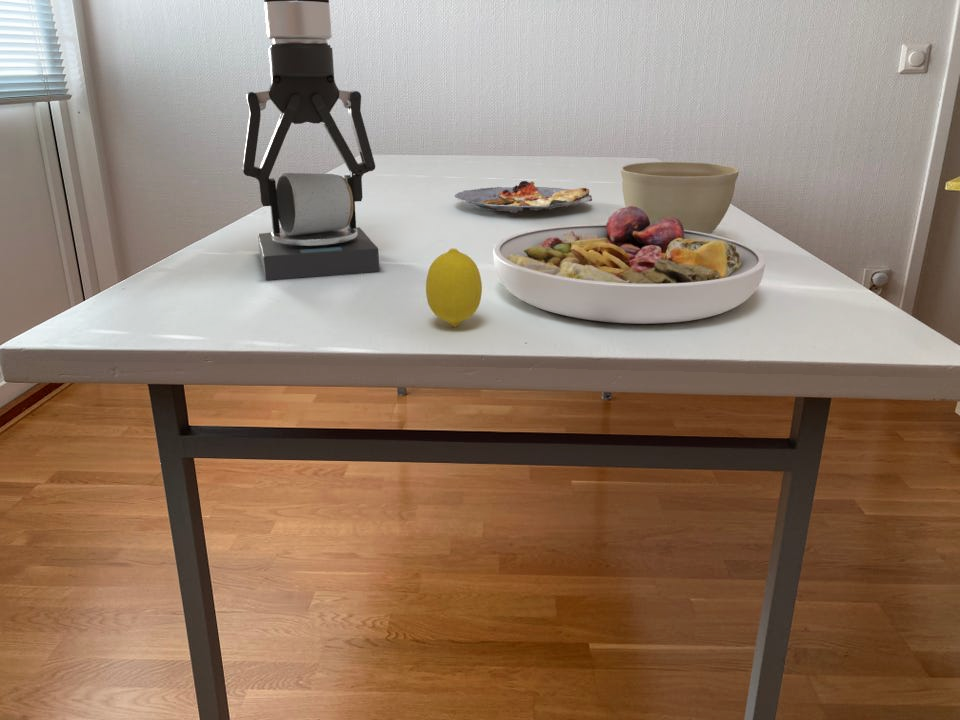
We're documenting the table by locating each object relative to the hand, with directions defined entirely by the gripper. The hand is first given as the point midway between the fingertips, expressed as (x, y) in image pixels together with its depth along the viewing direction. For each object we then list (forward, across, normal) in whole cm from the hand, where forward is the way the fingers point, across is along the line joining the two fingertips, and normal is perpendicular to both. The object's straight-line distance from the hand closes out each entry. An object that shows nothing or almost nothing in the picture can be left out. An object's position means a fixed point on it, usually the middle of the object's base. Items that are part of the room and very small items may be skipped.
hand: (314, 228), depth 101 cm
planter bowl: (+5, -51, +4) cm, 51 cm away
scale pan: (+1, 0, 0) cm, 1 cm away
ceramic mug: (0, 0, 0) cm, 1 cm away
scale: (+5, 0, 0) cm, 5 cm away
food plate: (+5, -41, -31) cm, 52 cm away
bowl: (+5, -32, +25) cm, 41 cm away
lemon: (+5, -10, +31) cm, 33 cm away
